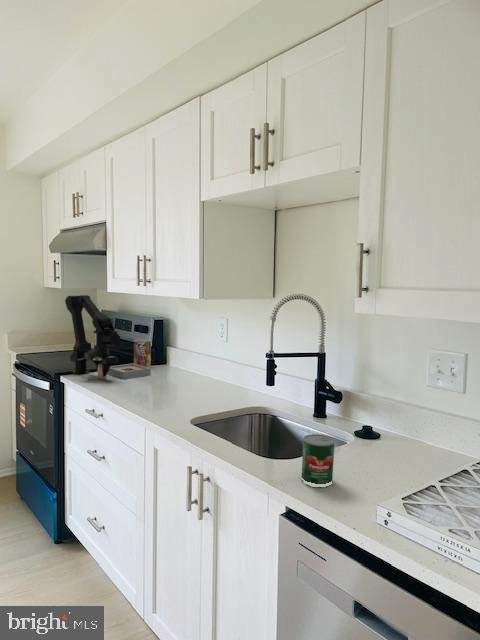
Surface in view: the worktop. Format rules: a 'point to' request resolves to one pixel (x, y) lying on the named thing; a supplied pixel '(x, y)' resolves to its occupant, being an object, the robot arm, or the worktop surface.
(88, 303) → the robot arm
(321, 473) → the canned tomato
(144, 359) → the candy box
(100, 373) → the peg
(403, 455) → the worktop surface
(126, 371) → the bin
